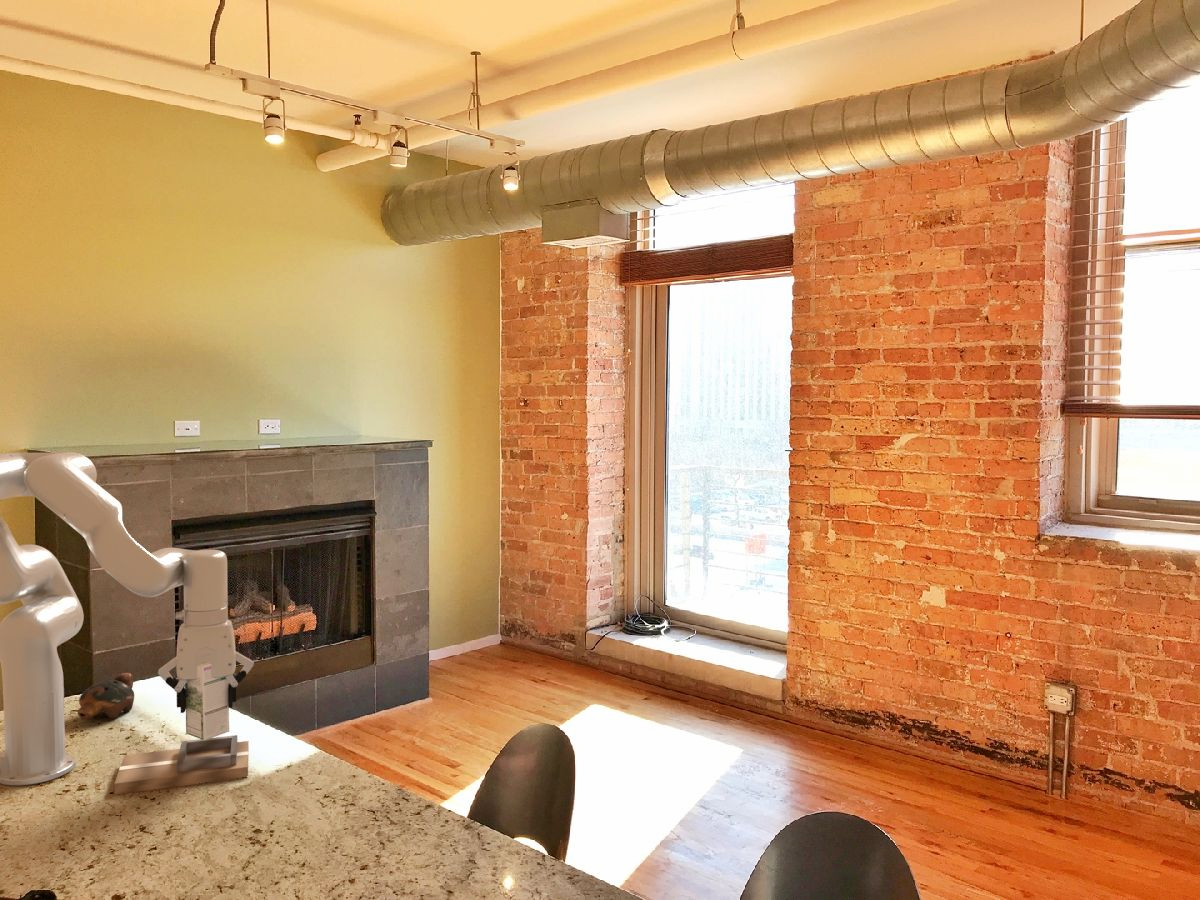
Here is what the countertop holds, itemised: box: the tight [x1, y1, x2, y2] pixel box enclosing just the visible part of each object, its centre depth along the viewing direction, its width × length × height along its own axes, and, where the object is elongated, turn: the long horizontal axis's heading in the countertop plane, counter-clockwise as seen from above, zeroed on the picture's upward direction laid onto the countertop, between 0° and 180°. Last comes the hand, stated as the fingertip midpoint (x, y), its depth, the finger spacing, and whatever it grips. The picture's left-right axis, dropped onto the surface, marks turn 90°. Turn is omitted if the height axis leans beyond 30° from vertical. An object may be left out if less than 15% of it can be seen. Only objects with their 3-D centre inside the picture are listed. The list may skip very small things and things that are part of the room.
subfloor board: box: [113, 735, 249, 795], centre depth 169 cm, size 22×13×4 cm, turn 111°
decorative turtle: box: [77, 672, 135, 721], centre depth 197 cm, size 10×15×8 cm, turn 175°
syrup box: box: [184, 662, 230, 740], centre depth 170 cm, size 6×6×14 cm
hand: (207, 707), depth 170 cm, fingers closed on syrup box, 7 cm apart
